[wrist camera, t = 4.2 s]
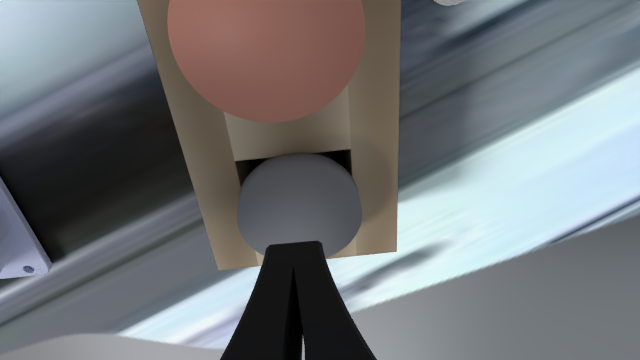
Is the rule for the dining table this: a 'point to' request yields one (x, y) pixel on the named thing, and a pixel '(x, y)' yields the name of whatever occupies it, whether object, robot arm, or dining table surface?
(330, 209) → the grey plug
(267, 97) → the brick plug
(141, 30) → the dining table surface
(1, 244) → the robot arm
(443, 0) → the stepped key frame
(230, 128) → the socket block
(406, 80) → the dining table surface
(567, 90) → the dining table surface
